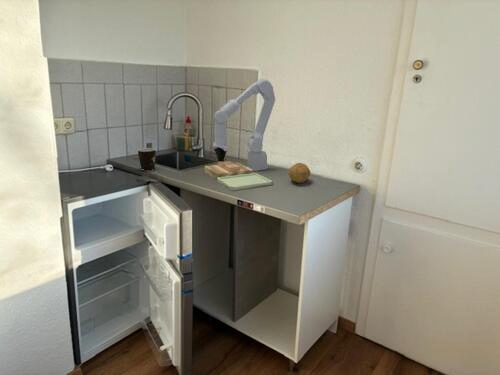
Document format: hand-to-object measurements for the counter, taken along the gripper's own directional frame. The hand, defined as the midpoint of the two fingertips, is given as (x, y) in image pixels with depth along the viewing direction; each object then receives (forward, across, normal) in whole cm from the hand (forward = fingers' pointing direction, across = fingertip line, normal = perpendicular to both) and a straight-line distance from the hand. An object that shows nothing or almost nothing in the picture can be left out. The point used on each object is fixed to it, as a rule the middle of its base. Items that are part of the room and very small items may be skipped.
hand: (220, 162), depth 191 cm
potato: (+4, +35, +23) cm, 42 cm away
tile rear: (+1, +6, 0) cm, 6 cm away
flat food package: (+4, +9, 0) cm, 10 cm away
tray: (+4, +26, 0) cm, 26 cm away
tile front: (+1, +13, 0) cm, 13 cm away
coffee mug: (+4, -15, -34) cm, 37 cm away
